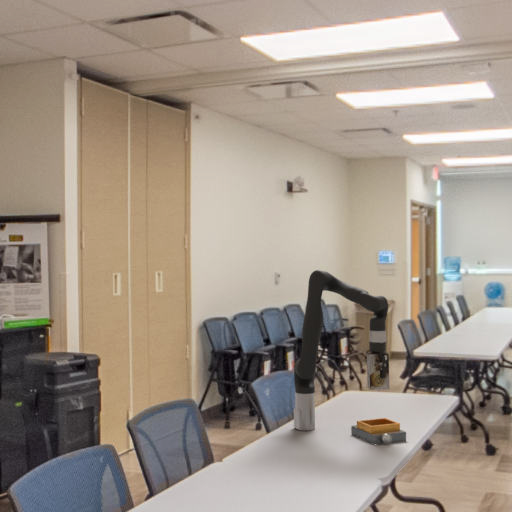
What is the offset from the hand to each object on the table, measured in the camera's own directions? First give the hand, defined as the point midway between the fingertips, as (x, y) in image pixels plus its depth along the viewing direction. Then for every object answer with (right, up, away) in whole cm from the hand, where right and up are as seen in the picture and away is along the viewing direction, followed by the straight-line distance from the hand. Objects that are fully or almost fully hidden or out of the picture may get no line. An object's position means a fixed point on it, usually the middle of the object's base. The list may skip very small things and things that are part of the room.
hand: (377, 376), depth 332 cm
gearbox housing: (+1, -27, -1) cm, 27 cm away
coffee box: (0, -5, 0) cm, 5 cm away
